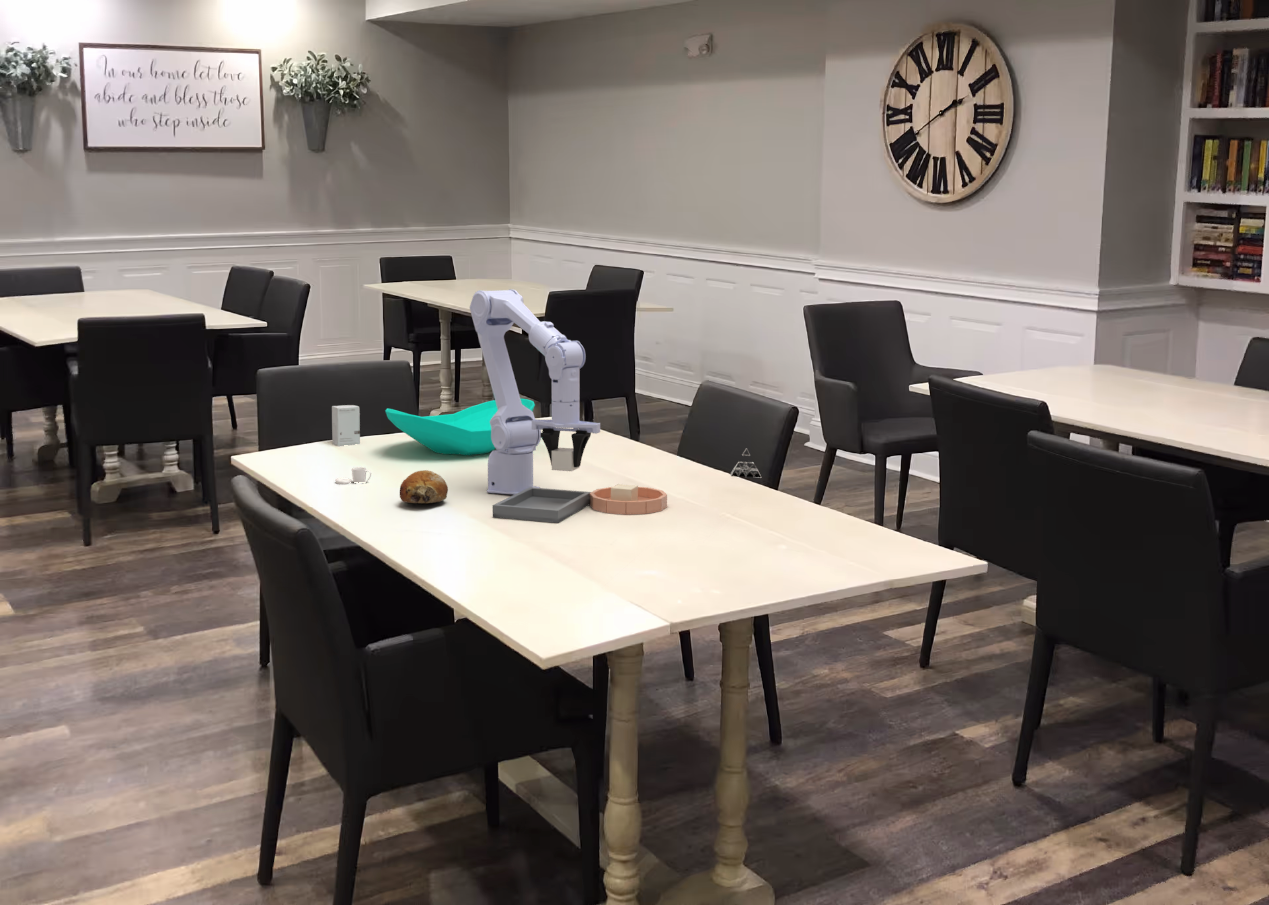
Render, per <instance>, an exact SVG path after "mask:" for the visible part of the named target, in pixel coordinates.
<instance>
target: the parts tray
mask: <svg viewBox="0 0 1269 905" xmlns="http://www.w3.org/2000/svg"><path fill="white" fill-rule="evenodd" d="M591 492H592V491H582V490H581V491H580V490H571V489H570V490H569V489H557V488H547V487H546V488H543V487H540V488H533V487H529V488H527V489H525V490H523V491H521V492H519V493H517V494H515V495H514V494H512V495H511V496H508V497H507V498H504V499H502V500H500V501H499V502H497V503H494V504H493V505H492V518H496V519H504V520H505V519H506V520H507V519H508V520H518V521H519V520H520V521H530V522H543V523H551V524H552V523H554V524H559V523H561V522H563V521H564V520H565V519H568V518H570V517H571V516H573V515H574V514H576V513H578V512H579V511H582V510H583V509H586V508H587V507H588V506H590V493H591Z"/></svg>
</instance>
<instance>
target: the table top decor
mask: <svg viewBox="0 0 1269 905" xmlns="http://www.w3.org/2000/svg"><path fill="white" fill-rule="evenodd" d="M520 399H521V403H522V405H524V406H525V407H527V408H528V409H530V410H531V411H532V412H533V413H534V408H535V406H536V404H535V402H534V400H531V399H527V398H521V397H520ZM384 411H385V414H386V417H387V419H388V420H389V421H390V422H391V423H392V424H393V425H394V426H395V427H396V428H398V429H399V430H400V431H401V432H403V433H404V434H406V435H407V436H409V437H410V438H412V439H413V440H415V441H417V442H418V443H420V444H421V445H423V446H424V447H425V448H427V449H429V450H431V451H432V452H434V453H437V454H441V453H443V454H442V455H460V454H461V455H462V456H467V455H468V456H475V455H476V456H477V455H483V454H488V453H489V454H490V453H491V452H492V451H494V450H496V448H495V447H494V445H493V443H492V439H491V425H490V420H491V419H492V417H493V416H494V415H495V413H496V412H497V411H498V409H497V405H496V401H495V399H494V400H490V401H489V400H488V401H485V402H482V403H479V404H478V403H477V404H476V405H472V406H469V407H466V408H464V409H462V410H460V411H457V412H454V413H450V414H448V413H447V414H439V415H438V414H437V415H429V416H427V415H426V416H419V415H415V414H410V413H407V412H403V411H399V410H396V409H393V408H386V409H385V410H384Z"/></svg>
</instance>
